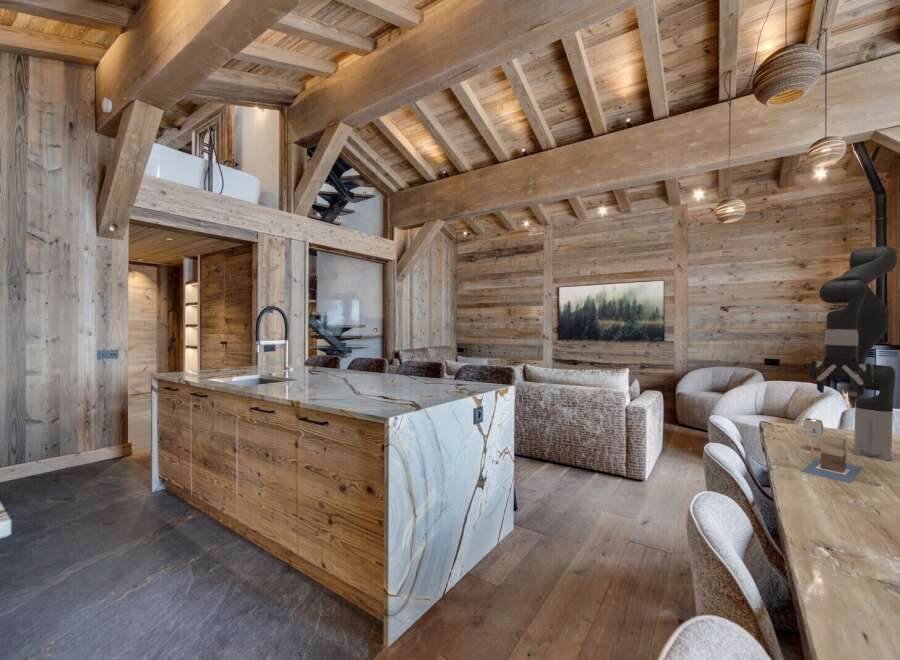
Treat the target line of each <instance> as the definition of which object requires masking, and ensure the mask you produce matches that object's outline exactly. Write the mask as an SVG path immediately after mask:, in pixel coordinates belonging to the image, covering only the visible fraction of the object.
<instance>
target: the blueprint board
mask: <svg viewBox="0 0 900 660" xmlns="http://www.w3.org/2000/svg"><path fill="white" fill-rule="evenodd" d="M820 467H821V457H817V458H816V459H814V460H813V461H811V462H810V463H809V464H807V466H805V467H804V468H803V469H802V470H801V471H800V472H801V473H805V474H809V475H813V476H818V477H822V478H825V479H826V478H827V479H830V480H835V481H838V482H844V483H848V484H851V483H852V482H853V481H854V479H856V478H857V476H858V475H859V474H860V472H861V471H862V470H863V469H864V466H859V465H854V464H849V463H846V470H845V471H844V472H843V473H839V472H835V471H831V470H826V469H822V468H820Z"/></svg>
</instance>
